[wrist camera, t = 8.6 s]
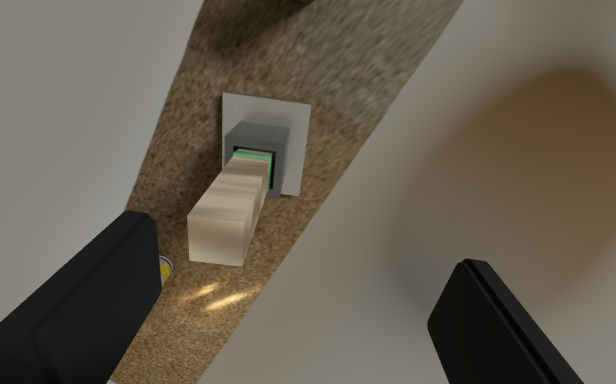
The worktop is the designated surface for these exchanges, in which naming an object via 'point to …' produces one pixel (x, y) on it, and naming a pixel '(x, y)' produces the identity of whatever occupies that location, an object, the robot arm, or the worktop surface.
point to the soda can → (302, 1)
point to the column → (230, 209)
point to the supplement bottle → (165, 268)
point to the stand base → (268, 135)
